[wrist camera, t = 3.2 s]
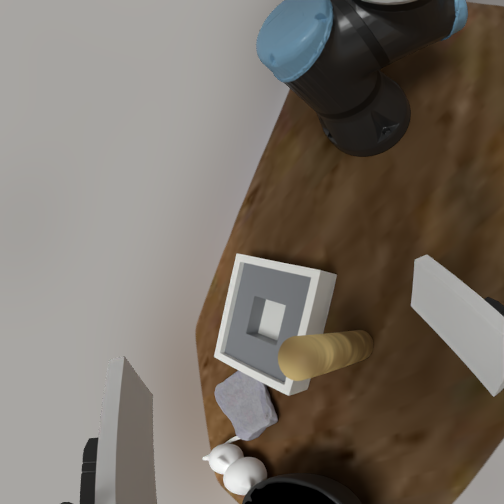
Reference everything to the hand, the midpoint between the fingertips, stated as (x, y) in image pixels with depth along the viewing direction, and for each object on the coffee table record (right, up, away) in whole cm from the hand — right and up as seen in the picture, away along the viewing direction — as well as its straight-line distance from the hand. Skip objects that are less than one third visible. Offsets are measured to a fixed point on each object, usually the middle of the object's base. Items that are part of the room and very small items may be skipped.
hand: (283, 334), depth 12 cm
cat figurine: (-1, -34, +35) cm, 49 cm away
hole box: (+3, -8, +37) cm, 38 cm away
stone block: (-1, -22, +38) cm, 44 cm away
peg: (+13, -10, +27) cm, 32 cm away
